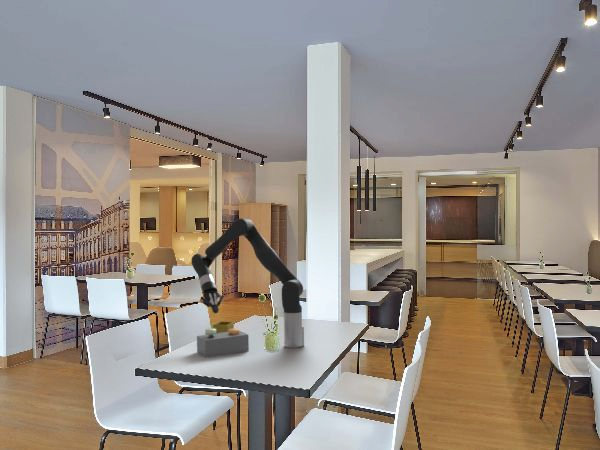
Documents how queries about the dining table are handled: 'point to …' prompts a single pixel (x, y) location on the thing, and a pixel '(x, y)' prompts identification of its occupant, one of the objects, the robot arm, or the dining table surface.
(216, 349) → the block
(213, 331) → the sage button
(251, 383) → the dining table surface
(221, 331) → the flower pot
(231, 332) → the orange button
